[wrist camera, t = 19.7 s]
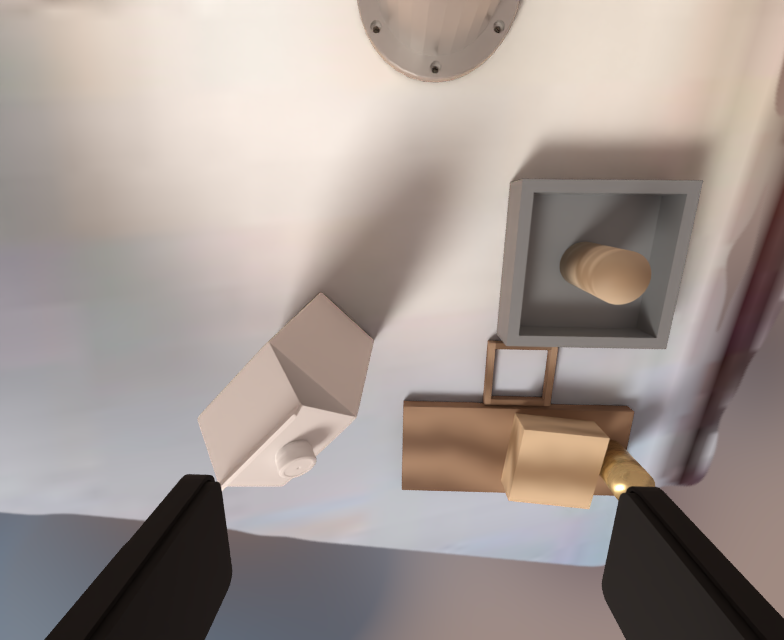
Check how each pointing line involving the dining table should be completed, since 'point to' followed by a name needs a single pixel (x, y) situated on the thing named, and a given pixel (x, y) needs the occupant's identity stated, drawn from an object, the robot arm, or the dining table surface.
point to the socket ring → (519, 400)
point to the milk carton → (288, 399)
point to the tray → (601, 226)
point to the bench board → (482, 441)
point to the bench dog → (622, 470)
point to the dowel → (606, 271)
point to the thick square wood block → (553, 460)
